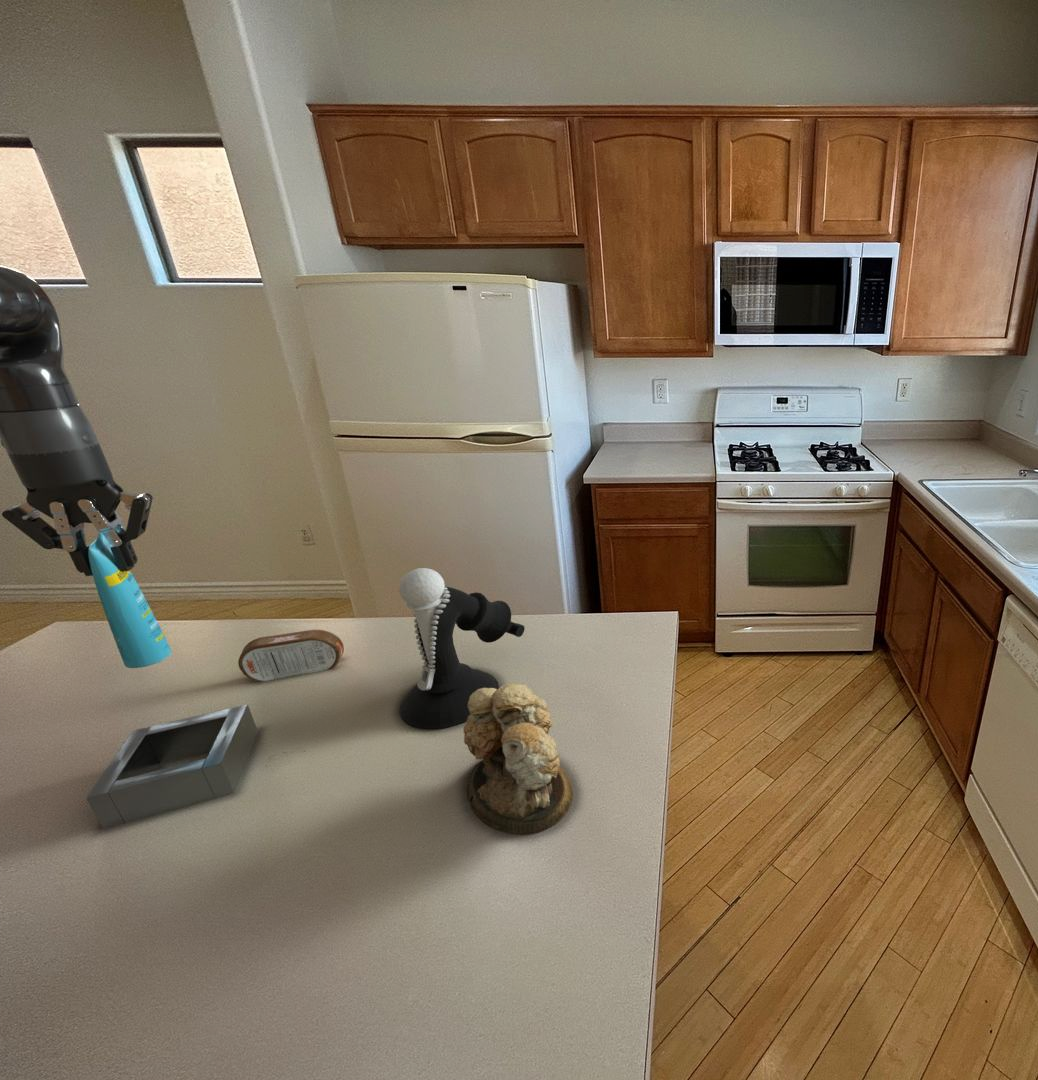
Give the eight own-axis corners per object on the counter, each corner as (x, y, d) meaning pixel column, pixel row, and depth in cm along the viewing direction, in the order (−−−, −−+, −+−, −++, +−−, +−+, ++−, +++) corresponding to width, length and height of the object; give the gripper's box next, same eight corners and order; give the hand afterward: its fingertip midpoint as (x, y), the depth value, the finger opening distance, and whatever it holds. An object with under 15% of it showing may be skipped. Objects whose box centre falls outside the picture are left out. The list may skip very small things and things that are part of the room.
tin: (349, 662, 103) (337, 623, 100) (345, 671, 100) (333, 632, 97) (251, 679, 98) (235, 639, 95) (244, 690, 95) (228, 649, 92)
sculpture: (381, 712, 90) (342, 575, 81) (498, 643, 109) (478, 526, 100) (440, 746, 84) (406, 601, 74) (554, 666, 103) (539, 543, 93)
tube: (172, 664, 78) (118, 539, 71) (123, 677, 75) (62, 549, 68) (172, 642, 84) (122, 524, 76) (127, 654, 80) (70, 532, 73)
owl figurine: (440, 790, 76) (416, 689, 69) (513, 740, 85) (497, 646, 78) (523, 859, 67) (504, 750, 60) (595, 794, 76) (585, 693, 69)
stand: (105, 833, 69) (85, 798, 67) (149, 762, 80) (132, 730, 78) (235, 797, 75) (220, 763, 72) (260, 735, 85) (247, 704, 83)
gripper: (142, 434, 73) (188, 552, 80) (-9, 443, 68) (54, 569, 74) (116, 446, 67) (168, 573, 74) (-53, 456, 62) (20, 593, 68)
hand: (110, 570), depth 74 cm, fingers closed on tube, 3 cm apart
